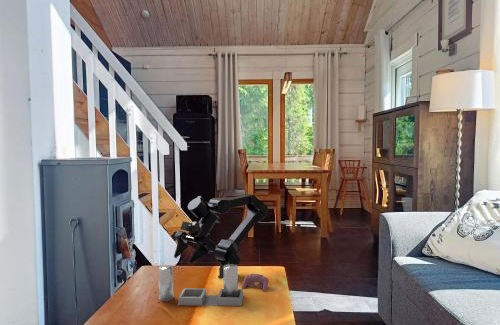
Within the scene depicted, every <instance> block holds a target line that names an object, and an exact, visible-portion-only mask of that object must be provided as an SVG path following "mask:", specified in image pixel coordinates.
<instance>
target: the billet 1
mask: <svg viewBox="0 0 500 325" xmlns="http://www.w3.org/2000/svg"><path fill="white" fill-rule="evenodd" d="M157 270H158V272H157V274H158V300H159V301H161V302H168V301H172V300H173V299H174V266H173V265H169V264H168V265H167V264H165V265H161V266H158V269H157ZM161 302H159V304H161Z"/></svg>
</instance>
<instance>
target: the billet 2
mask: <svg viewBox="0 0 500 325" xmlns="http://www.w3.org/2000/svg"><path fill="white" fill-rule="evenodd" d="M238 267H239V266H238V264H237V265H235V264H227V265H224V266H223V278H222V280H223V289H224V297H238V289H239V272H238V271H239V269H238Z"/></svg>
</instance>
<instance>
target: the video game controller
mask: <svg viewBox="0 0 500 325" xmlns="http://www.w3.org/2000/svg"><path fill="white" fill-rule="evenodd" d="M269 282H270V281H269V279H268V278H267V277H266V276H265V275H262V274H259V273H250V274H247V275H246V276H245V277H244V279H243V281H242V284H241V289H243V290H244V289H247V287H249V288H255V287H256V289H262V292H263V293H264V292H267V291H268V286H269ZM255 283H257V285H256V284H255Z"/></svg>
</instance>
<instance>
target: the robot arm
mask: <svg viewBox="0 0 500 325" xmlns="http://www.w3.org/2000/svg"><path fill="white" fill-rule="evenodd" d="M241 206H245V207H246V209H247V212H246V213H247V214H246V217H245V218H244V219H243V220H242V221H241V223H240V224H239V226H238V227H237V228H236V229H235V230H234V232H233V233H232V234H231V236H230V237H229V238H228V239H221V240H220V241H219V243H218V244H216V243H215V242H214V241H213V240H212V239H211V238H210V237H208V235H209V236H211V234H212V229H213V227H214V225H215V224H216V223H218V224H221V223H222V220H221V216H220V215H217V214H221V215H223V214H226V213H228V212H229V211H230V210H231V209H233V208H237V207H241ZM187 209H188V210H189V211H190V212H191V214H193V215H194V216H195V217H196V218H197V219H200V220H199V221H198V222H197V221H193V222H189V221H184V220H183V221H182V222H181V225H180V229H179V230H176V232H175V234H174V237H175V239H176V242H177V243H176V246H175V247H176V248H175V251H174V255H173V257H174V259H177V258H178V257H180V256H181V254H183V253H184V251H185V250H187V249H188V248H189V245H190V244H191V243H193V244H195V245H196V246H195V249H194V251H193V253H192V254H191V256H190V258H189V260H188V263H189V264H193V263H194V262H196V261H197V260H198V259H200V258H202V257H203V256H206V255H208V254H210V253H214V257H215V259H216V261H217V263H219V268H218V273H219V274H218V277H217V278H219V279H222V280H223V266H224V265H227V264H235V265H237V266H238V265H240V262H241V258H240V257H239V256H238V250H239V249H238V248H239V246H240V244H241V243H242V242H243V241H244V239H245V238H246V237H247V235H248V234H249V232H250V231H251V230H252V229H253V228H254V227H255V224H256V223H259V222H260V221H262V220H264V218H266V217H267V216H268V214H269V207H268V205H267V204H265V203H264V202H263V201H262V200H260V199H259V198H258V197H257V196H256V195H255V194H252V193H250V194H249V193H245V194H243V195H238V196H233V197H230V198H229V197H228V198H217V197H213V198H211V199H209V201H206V199H205V198H204V197H203V196H202V195H198V196H197V197H196V198H194V199H192V200H191V201H190V202H188V204H187Z"/></svg>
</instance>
